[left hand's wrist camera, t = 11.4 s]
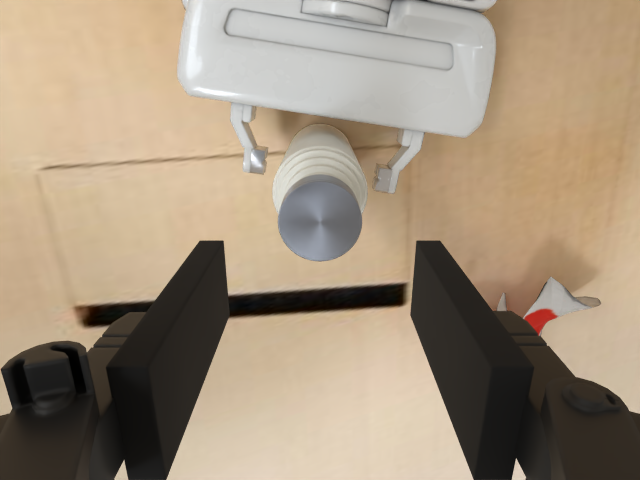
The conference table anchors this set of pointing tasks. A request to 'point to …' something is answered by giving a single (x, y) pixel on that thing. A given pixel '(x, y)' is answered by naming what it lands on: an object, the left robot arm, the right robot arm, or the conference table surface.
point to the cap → (320, 218)
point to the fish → (552, 304)
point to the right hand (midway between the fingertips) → (319, 181)
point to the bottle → (320, 162)
